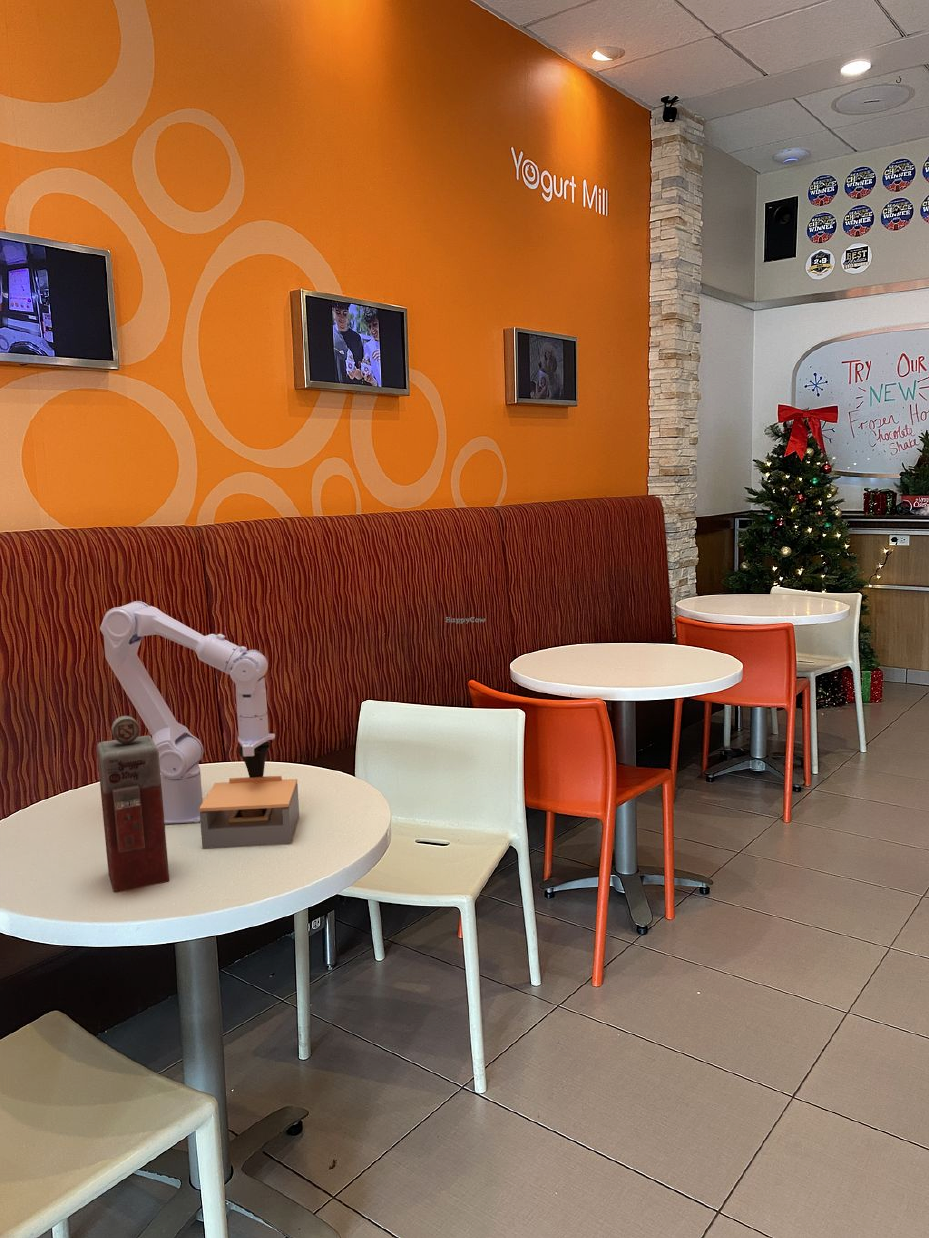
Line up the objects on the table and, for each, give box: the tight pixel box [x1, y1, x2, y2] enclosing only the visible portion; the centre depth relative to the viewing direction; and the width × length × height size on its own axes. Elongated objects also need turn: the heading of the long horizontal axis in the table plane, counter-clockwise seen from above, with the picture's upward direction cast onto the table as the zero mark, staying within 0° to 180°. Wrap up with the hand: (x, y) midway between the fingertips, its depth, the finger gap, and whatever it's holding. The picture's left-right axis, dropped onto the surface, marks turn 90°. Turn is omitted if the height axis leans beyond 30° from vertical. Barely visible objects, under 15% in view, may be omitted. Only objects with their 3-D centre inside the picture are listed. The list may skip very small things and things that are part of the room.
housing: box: [199, 783, 300, 849], centre depth 178 cm, size 16×14×7 cm
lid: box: [199, 775, 298, 811], centre depth 177 cm, size 16×14×1 cm
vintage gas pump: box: [96, 715, 170, 893], centre depth 156 cm, size 9×11×28 cm
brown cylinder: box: [241, 808, 263, 817], centre depth 178 cm, size 4×4×6 cm
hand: (256, 780), depth 185 cm, fingers closed
